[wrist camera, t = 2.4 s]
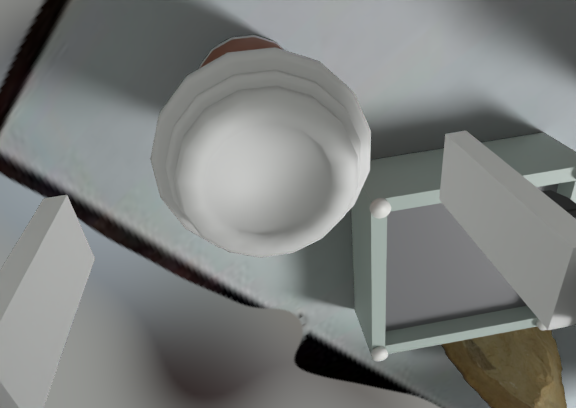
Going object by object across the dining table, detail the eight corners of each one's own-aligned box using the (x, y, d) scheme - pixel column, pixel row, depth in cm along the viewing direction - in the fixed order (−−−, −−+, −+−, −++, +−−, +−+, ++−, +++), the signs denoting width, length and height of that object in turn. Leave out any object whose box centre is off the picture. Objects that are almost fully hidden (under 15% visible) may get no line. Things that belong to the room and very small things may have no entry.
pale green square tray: (512, 282, 39) (552, 328, 34) (353, 310, 38) (372, 362, 34) (545, 130, 31) (601, 164, 27) (347, 162, 31) (371, 202, 26)
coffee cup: (337, 134, 29) (401, 242, 19) (205, 176, 30) (199, 303, 19) (302, -13, 25) (364, 26, 14) (145, 38, 25) (96, 112, 15)
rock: (413, 365, 39) (474, 420, 43) (499, 399, 32) (565, 462, 35) (465, 266, 43) (518, 323, 46) (554, 275, 36) (609, 343, 39)
